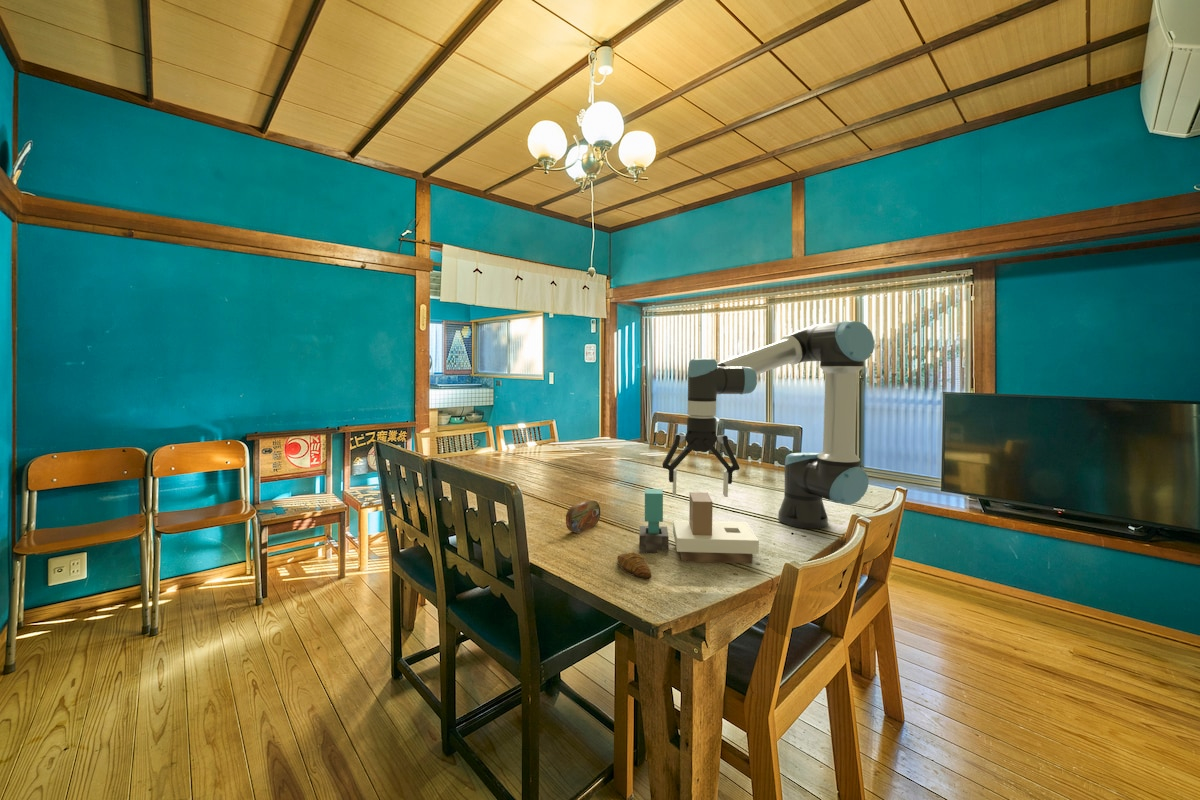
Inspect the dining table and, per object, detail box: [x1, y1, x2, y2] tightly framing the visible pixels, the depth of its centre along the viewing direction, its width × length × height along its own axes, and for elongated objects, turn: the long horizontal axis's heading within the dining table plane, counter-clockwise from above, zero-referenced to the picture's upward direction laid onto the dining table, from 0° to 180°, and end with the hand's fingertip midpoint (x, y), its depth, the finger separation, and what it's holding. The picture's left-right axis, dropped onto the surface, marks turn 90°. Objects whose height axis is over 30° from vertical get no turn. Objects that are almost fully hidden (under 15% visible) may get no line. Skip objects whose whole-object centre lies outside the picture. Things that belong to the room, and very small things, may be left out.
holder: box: [638, 525, 670, 555], centre depth 136 cm, size 8×8×5 cm
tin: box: [565, 500, 601, 534], centre depth 153 cm, size 15×3×8 cm, turn 143°
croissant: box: [616, 552, 652, 581], centre depth 121 cm, size 14×7×5 cm, turn 30°
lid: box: [672, 491, 760, 555], centre depth 129 cm, size 21×15×12 cm
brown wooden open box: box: [679, 552, 753, 564], centre depth 130 cm, size 18×12×6 cm, turn 85°
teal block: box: [644, 488, 664, 534], centre depth 136 cm, size 5×5×16 cm
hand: (699, 494), depth 129 cm, fingers open, 13 cm apart
